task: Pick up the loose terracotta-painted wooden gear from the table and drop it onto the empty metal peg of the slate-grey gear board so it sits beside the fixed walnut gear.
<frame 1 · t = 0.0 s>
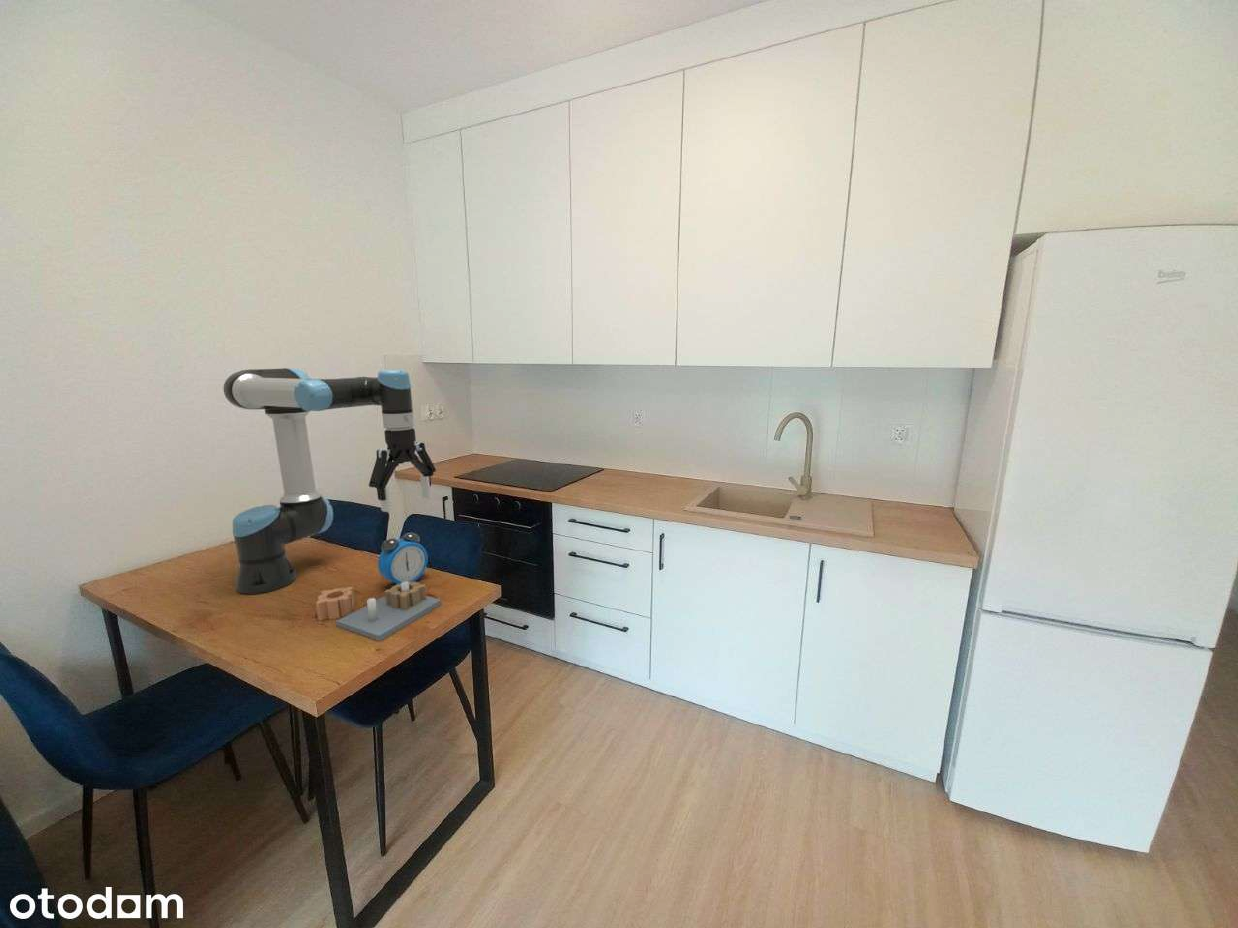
hand: (407, 504, 136), 28 cm above the table, fingers open, 13 cm apart
alarm clock: (405, 582, 152), on the table
gear board: (391, 614, 132), on the table
loose gear: (337, 611, 134), on the table
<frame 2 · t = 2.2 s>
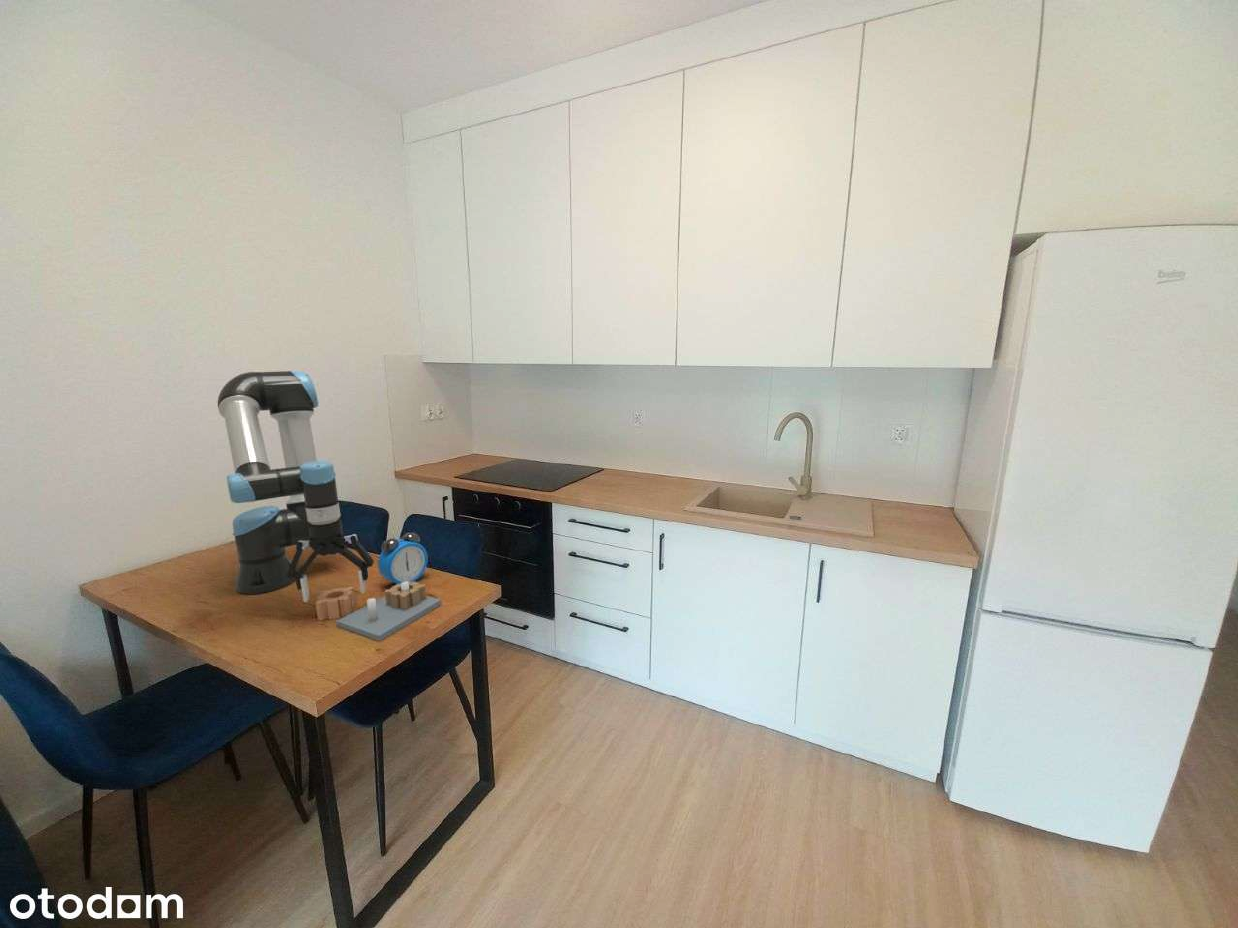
hand: (335, 595, 133), 5 cm above the table, fingers open, 13 cm apart
nothing on the table moved.
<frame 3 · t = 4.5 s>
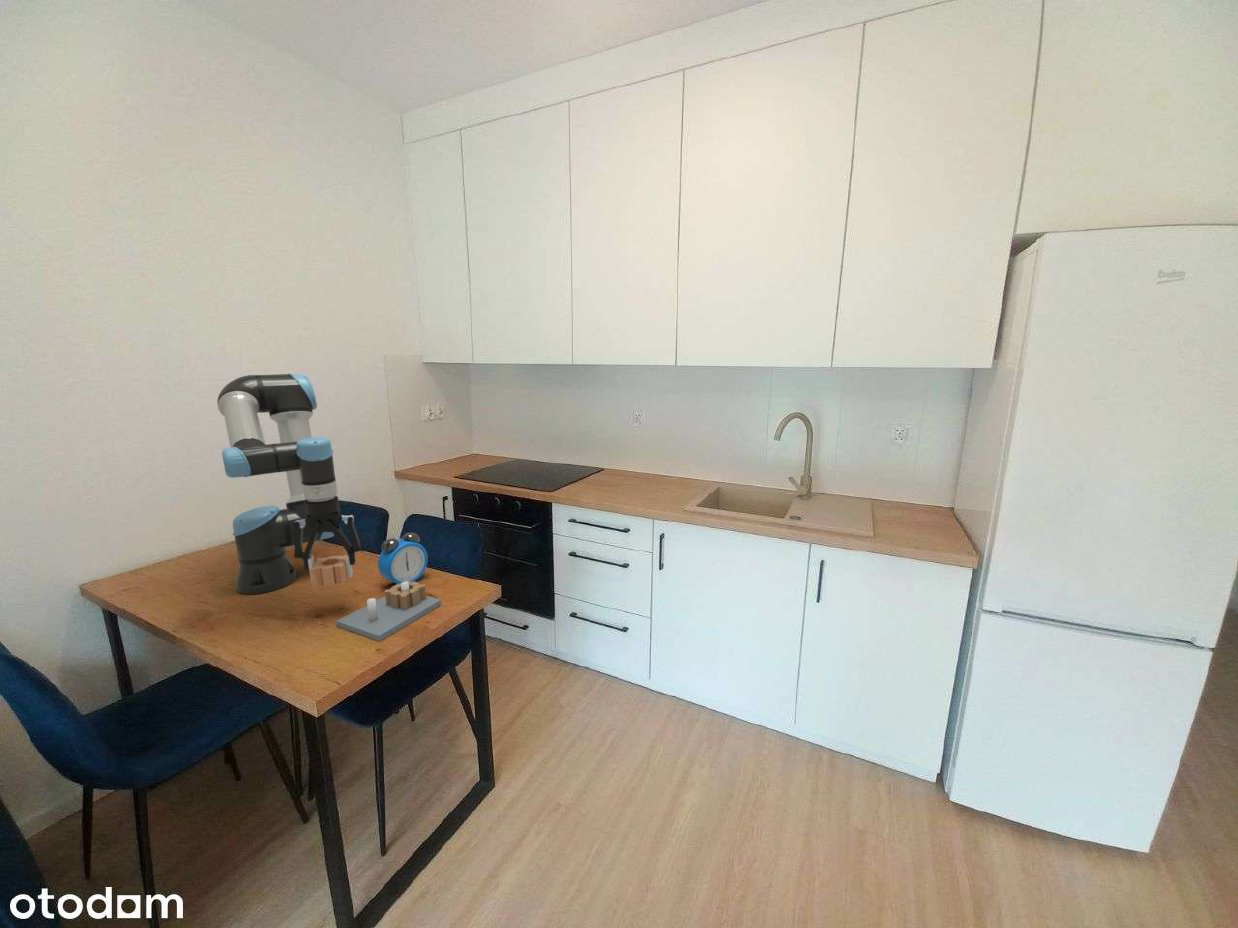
hand: (332, 577, 132), 10 cm above the table, fingers closed on loose gear, 8 cm apart
loose gear: (332, 579, 132), point 9 cm above the table, touching gripper
everything else where it was.
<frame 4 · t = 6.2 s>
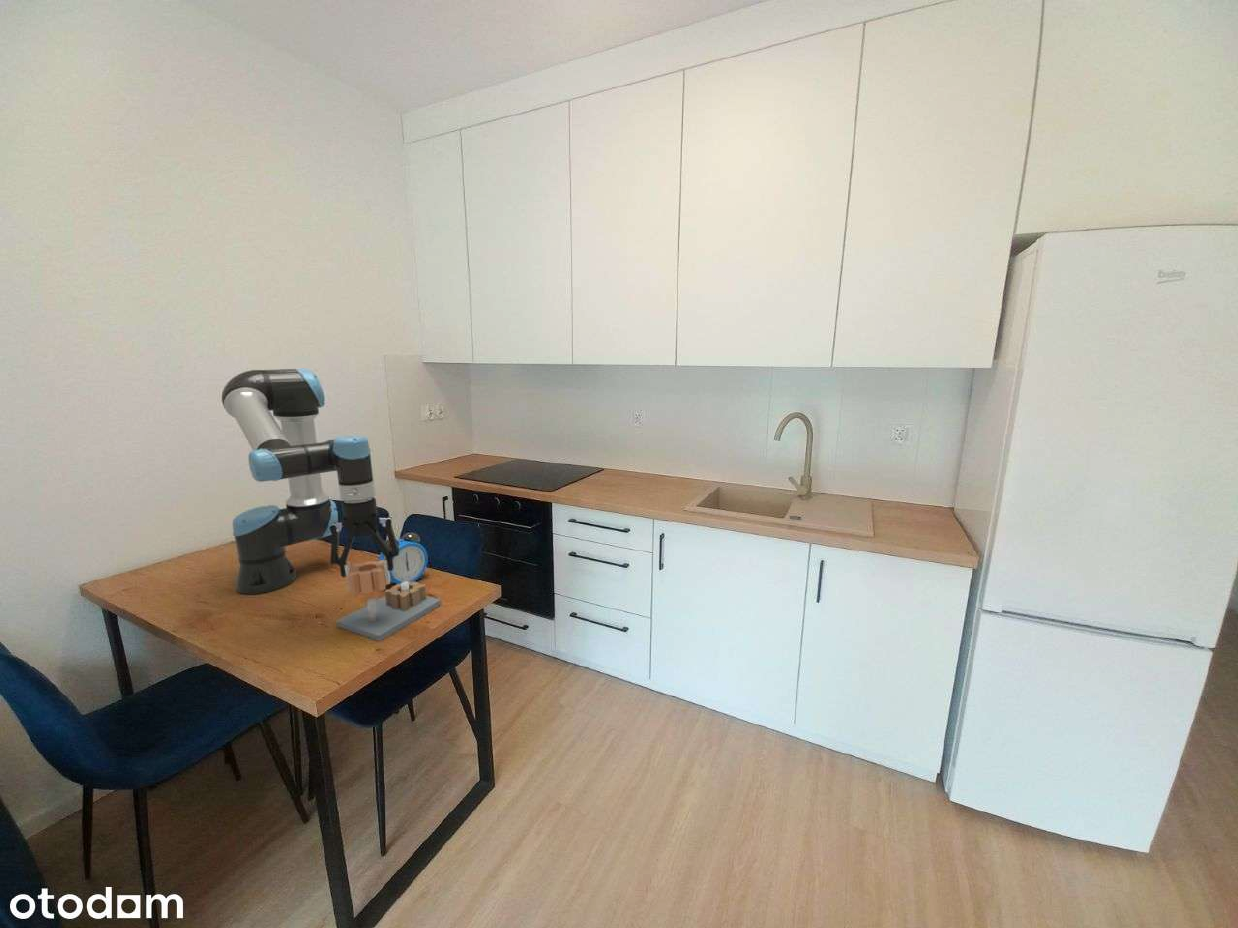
hand: (369, 584, 125), 11 cm above the table, fingers closed on loose gear, 8 cm apart
loose gear: (369, 585, 125), point 11 cm above the table, touching gripper
everything else where it was.
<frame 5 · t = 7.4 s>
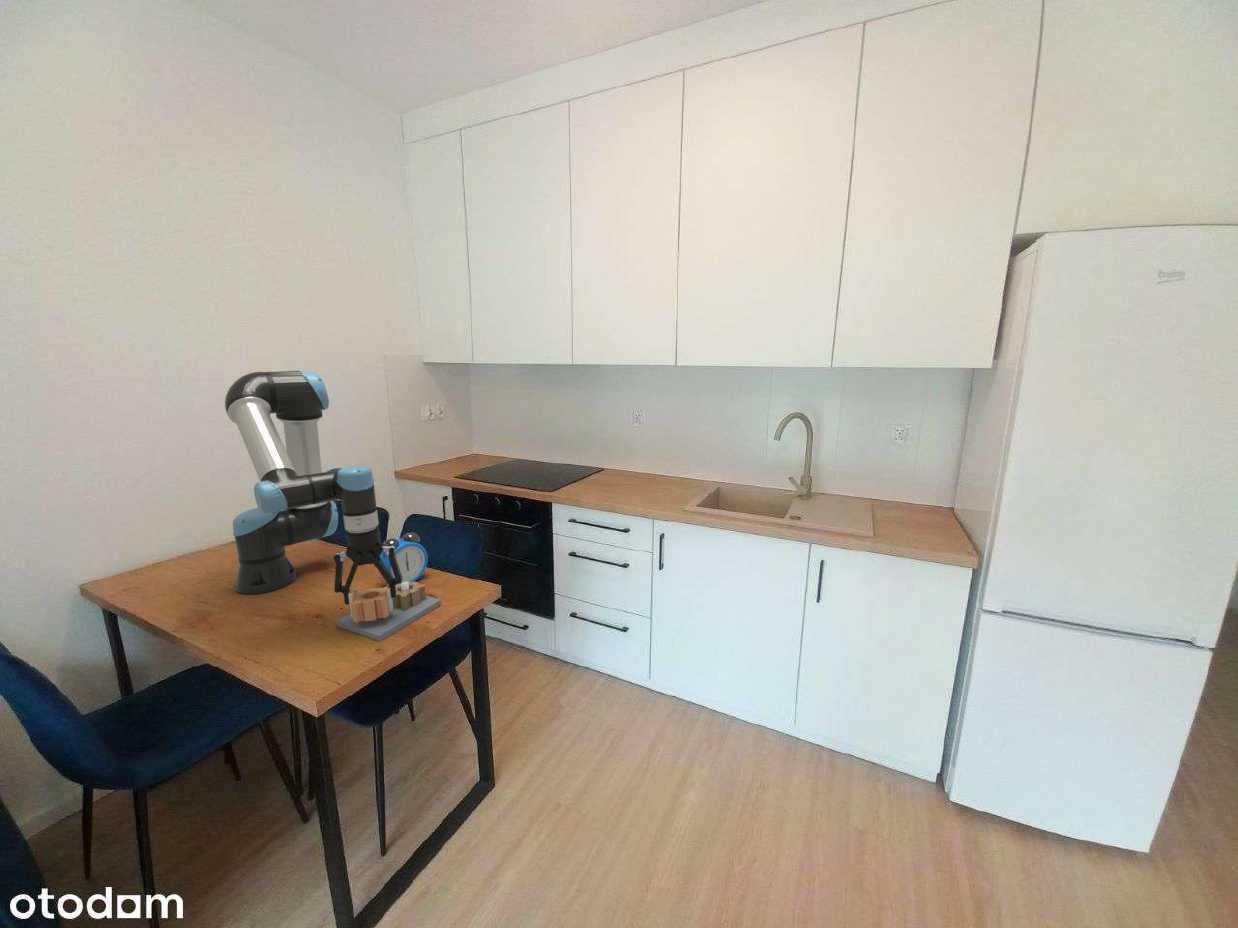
hand: (372, 611, 127), 4 cm above the table, fingers closed on loose gear, 8 cm apart
loose gear: (372, 612, 127), point 3 cm above the table, touching gripper
everything else where it was.
when the fingers open (2 cm above the table, at t = 8.0 s): loose gear stays where it is, resting on gear board.
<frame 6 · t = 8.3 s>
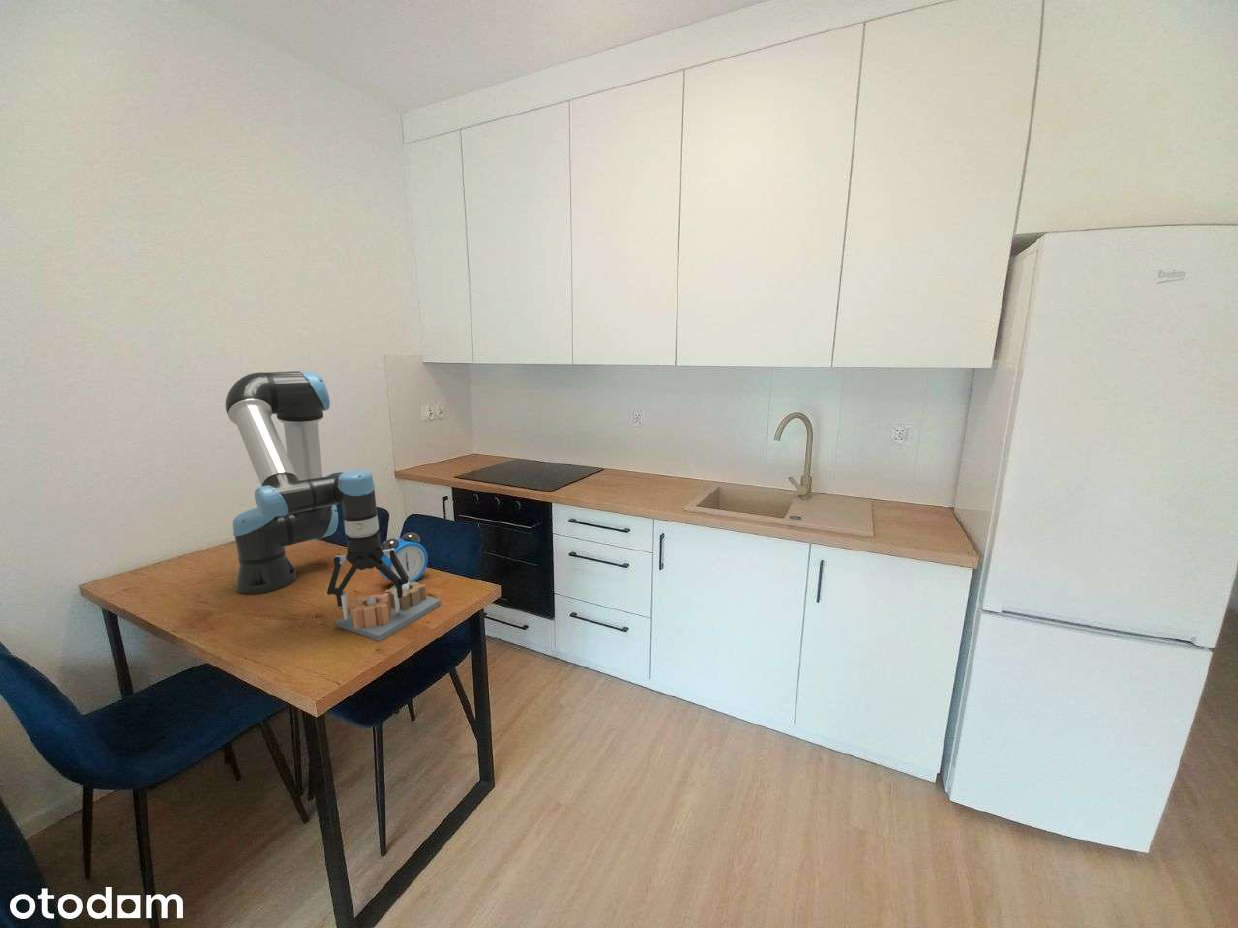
hand: (372, 612, 127), 3 cm above the table, fingers open, 11 cm apart
loose gear: (373, 619, 127), point 1 cm above the table, touching gear board
everything else where it was.
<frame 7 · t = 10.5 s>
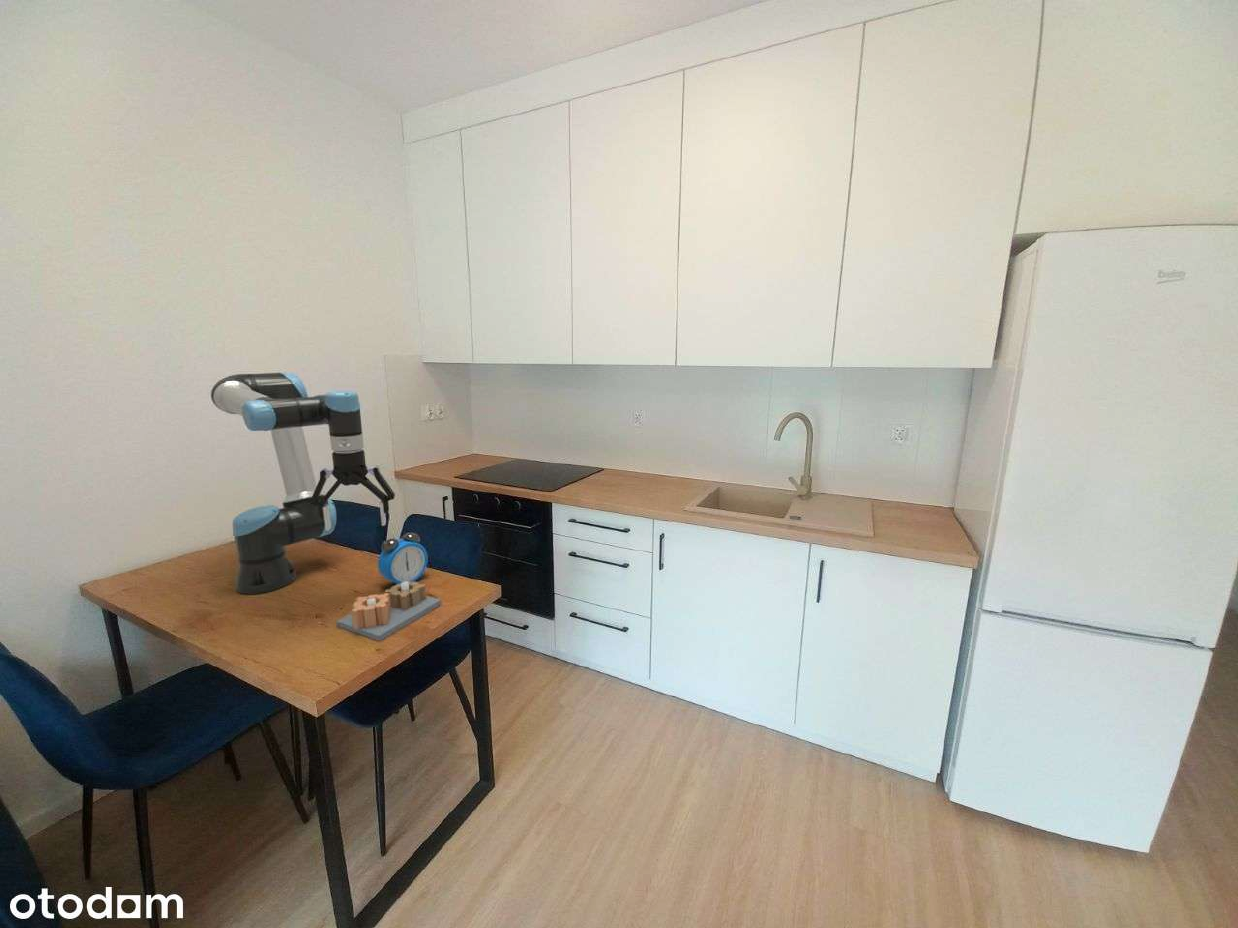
hand: (356, 526, 134), 23 cm above the table, fingers open, 13 cm apart
nothing on the table moved.
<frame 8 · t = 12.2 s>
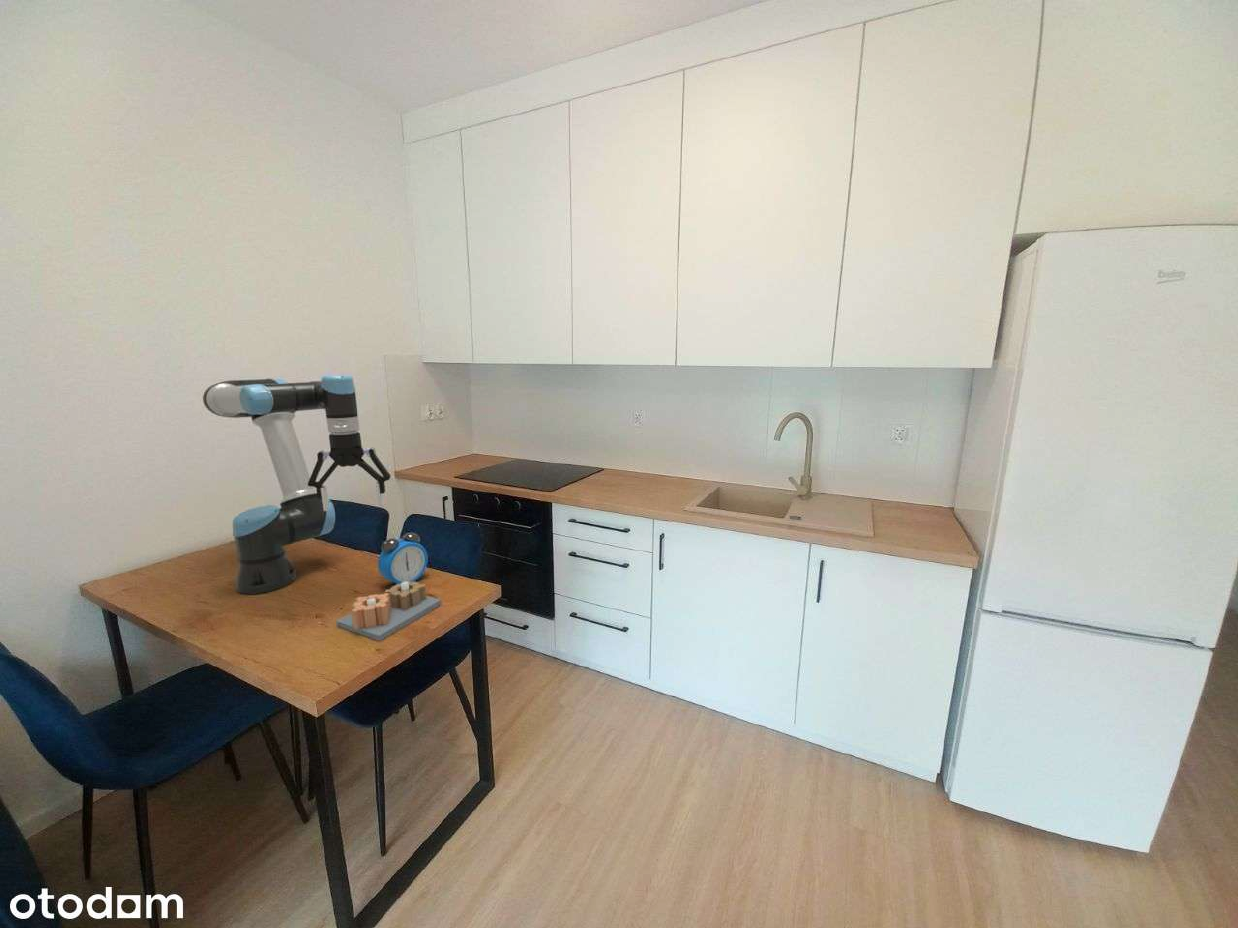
hand: (353, 507, 138), 27 cm above the table, fingers open, 13 cm apart
nothing on the table moved.
at the end: loose gear 0.0 cm from the target spot on the gear board, point 1.5 cm above the gear board's base; loose gear tilted 0°; the gripper is holding nothing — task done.
